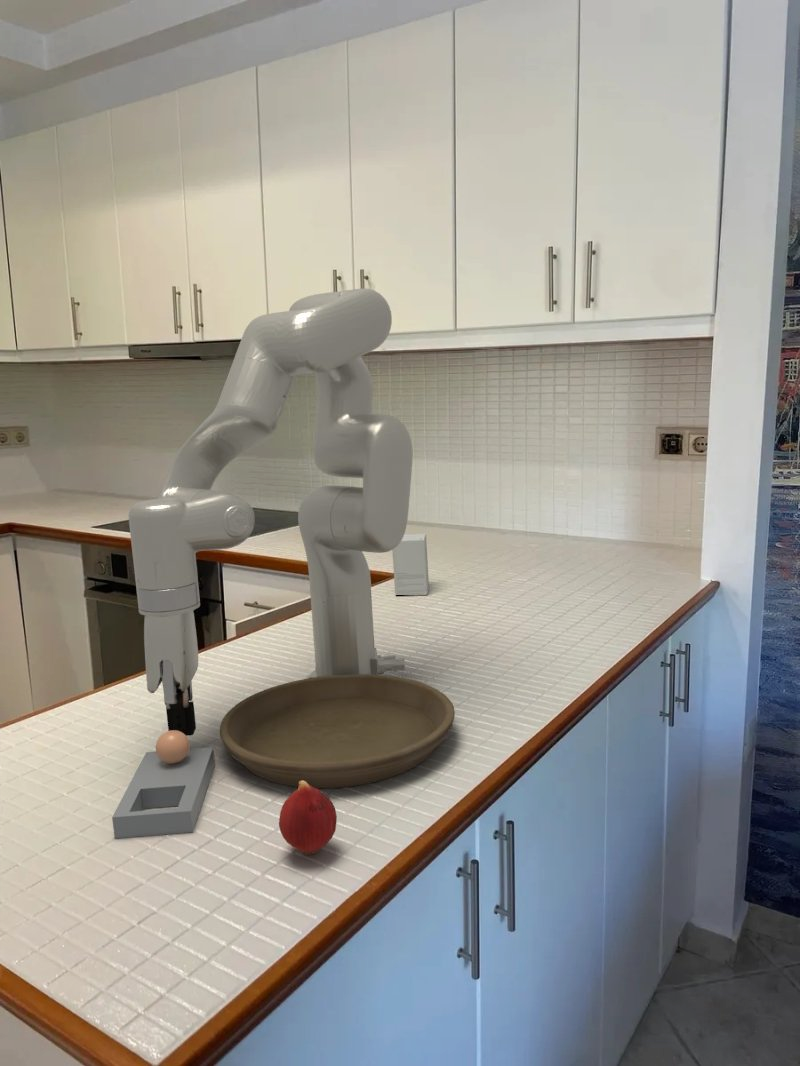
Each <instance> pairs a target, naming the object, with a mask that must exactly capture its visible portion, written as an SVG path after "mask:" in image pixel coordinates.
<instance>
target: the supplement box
mask: <svg viewBox="0 0 800 1066" xmlns="http://www.w3.org/2000/svg"><path fill="white" fill-rule="evenodd" d="M427 542H428V541H427V533H416V534H415V533H413V534H412V533H411V534H404V536H403V538H402V540H401V542H400V543H399V545H398V546H397V547H396V548H394V549H393V550H391V551H392V552H391V553H392V565H393V578H394V579H393V581H394V591H395V592H394V593H395V594H394V595H395V596H396V595H414V596H428V594H429V590H430V582H429V581H430V580H429V565H428V563H429V562H428V545H427V544H428V543H427ZM428 589H429V590H428Z"/></svg>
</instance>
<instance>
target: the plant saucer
mask: <svg viewBox="0 0 800 1066" xmlns="http://www.w3.org/2000/svg"><path fill="white" fill-rule="evenodd" d="M455 714H456V712H455V707H454V705H453V703H452V701H451V699H450V698H449V697H448V696H447V695H446V694H444V693H443V692H442V691H441V690H439V689H437V688H435V687H433V686H430V685H429V684H426V683H424V682H422V681H421V682H420V681H416V680H413V679H410V678H405V677H399V676H391V675H386V676H384V675H367V674H353V675H332V676H323V677H315V678H308V679H307V678H303V679H299V680H294V681H290V682H285V683H282V684H278V685H276V686H271V687H269V688H266V689H263V690H261V691H258V692H255V693H254V694H252V695H250V696H248V697H246V698H244V699H243V700H241V701H239V702H238V703H237V704H235V705H234V706H233V707H232V708H230V709H229V710H228V711H227V713H226V714H225V715H224V717H223V718H222V720H221V723H220V726H219V727H220V728H219V737H220V739H221V742H222V745H223V746H224V747H225V749H226V750H227V752H228V753H229V754H230V756H232V757H233V758H234V759H235V760H236V761H238V762H239V763H241V764H242V765H244V767H245V768H246V769H247V770H248V771H250V772H251V773H252V774H254V775H256V776H258V777H260V778H262V779H264V780H268V781H270V782H274V783H278V784H280V785H281V784H282V785H286V786H292V787H298V788H299V781H306V782H307V784H308V785H310V786H312V787H313V788H316V789H334V788H335V789H336V788H347V787H354V786H361V785H365V784H372V783H376V782H379V781H383V780H387V779H390V778H393V777H396V776H398V775H401V774H403V773H405V772H407V771H409V770H411V769H413V768H415V767H416V766H417V765H419V764H421V763H422V762H424V761H425V760H426V759H427V758H428V757H429V756H430V755H431V754H432V753H433V752H434V750H435V749H436V747H438V746H439V745H440V744H441V743H442V742H443V741H444V739H445V738H446V737H447V735H448V733H449V731H450V730H451V728H452V726H453V723H454V720H455Z"/></svg>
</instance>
